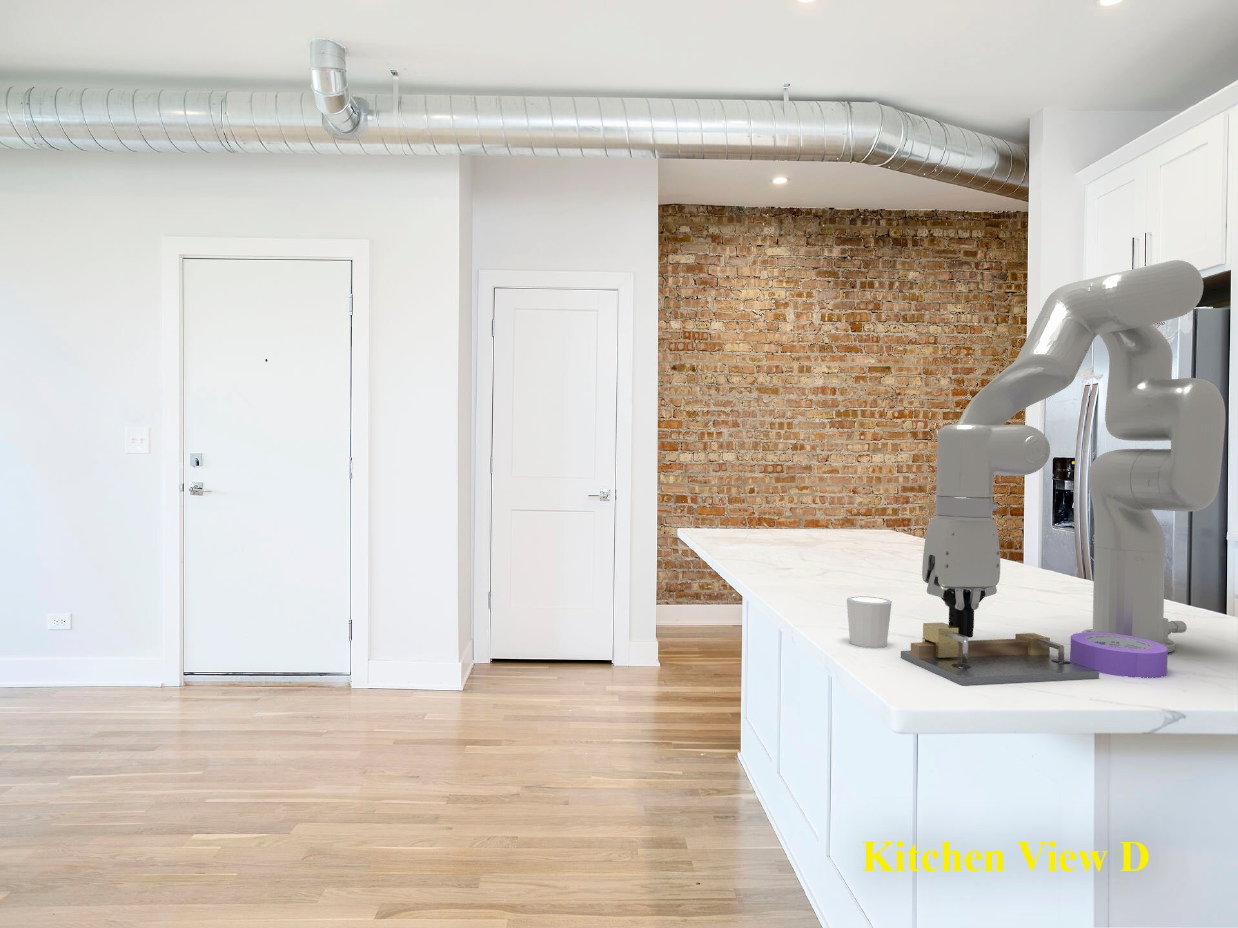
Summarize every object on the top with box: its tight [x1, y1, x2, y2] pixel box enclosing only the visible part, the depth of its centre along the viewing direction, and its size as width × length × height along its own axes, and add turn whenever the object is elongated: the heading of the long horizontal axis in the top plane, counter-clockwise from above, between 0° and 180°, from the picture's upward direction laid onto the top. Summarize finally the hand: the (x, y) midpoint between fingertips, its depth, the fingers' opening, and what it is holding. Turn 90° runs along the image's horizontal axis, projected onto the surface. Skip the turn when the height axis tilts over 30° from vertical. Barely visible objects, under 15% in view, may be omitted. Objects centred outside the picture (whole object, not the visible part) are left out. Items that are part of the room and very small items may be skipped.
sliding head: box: [921, 622, 969, 663], centre depth 108 cm, size 3×8×4 cm, turn 12°
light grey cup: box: [846, 595, 892, 649], centre depth 121 cm, size 7×7×7 cm
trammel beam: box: [910, 632, 1065, 661], centre depth 109 cm, size 21×7×2 cm, turn 102°
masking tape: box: [1069, 632, 1169, 679], centre depth 109 cm, size 12×12×4 cm
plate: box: [900, 649, 1100, 686], centre depth 108 cm, size 21×14×1 cm, turn 102°
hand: (960, 635), depth 110 cm, fingers closed
